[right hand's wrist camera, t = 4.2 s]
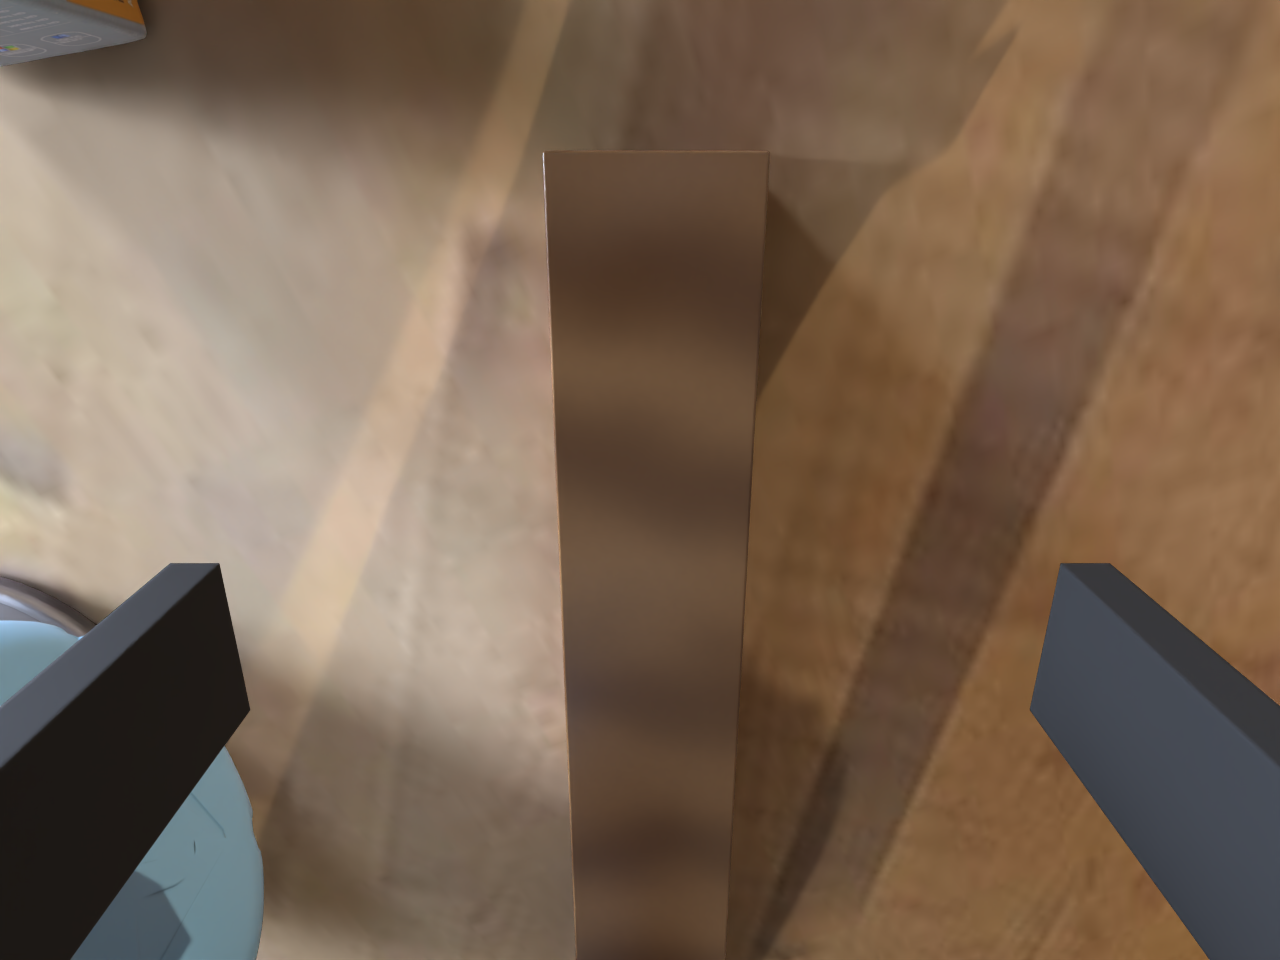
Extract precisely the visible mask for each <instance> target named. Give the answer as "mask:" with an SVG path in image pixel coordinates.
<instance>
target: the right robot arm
mask: <svg viewBox="0 0 1280 960" xmlns="http://www.w3.org/2000/svg"><path fill="white" fill-rule="evenodd" d="M249 711H250V706H249V701H248V697H247V692H246V687H245V683H244V678H243V673H242V668H241V664H240V659H239V654H238V649H237V645H236V640H235V635H234V630H233V626H232V621H231V616H230V612H229V607H228V602H227V597H226V593H225V588H224V583H223V578H222V574H221V569H220V564H219V563H170V564H169V565H168V566H167V567H165V568H164V569H163V570H162V571H161V572H159V573H158V574H157V575H156V576H155V577H153V578H152V579H151V580H150V581H149V582H147V583H146V584H145V585H144V586H143V587H142V588H140V589H139V590H138V591H137V592H136V593H134V594H133V595H132V596H131V597H130V598H128V599H127V600H126V601H125V602H124V603H122V604H121V605H120V606H119V607H118V608H116V609H115V610H114V611H113V612H112V613H111V614H109V615H108V616H107V617H106V618H105V619H103V620H102V621H101V622H100V623H99V624H97V625H96V626H95V627H94V628H93V629H91V630H90V631H89V632H88V633H87V634H86V635H84V636H83V637H82V638H81V639H80V640H78V641H77V642H76V643H75V644H74V645H72V646H71V647H70V648H69V649H68V650H66V651H65V652H64V653H63V654H62V655H61V656H59V657H58V658H57V659H56V660H55V661H53V662H52V663H51V664H50V665H49V666H47V667H46V668H45V669H44V670H43V671H41V672H40V673H39V674H38V675H37V676H36V677H34V678H33V679H32V680H31V681H30V682H28V683H27V684H26V685H25V686H24V687H22V688H21V689H20V690H19V691H18V692H16V693H15V694H14V695H13V696H12V697H11V698H9V699H8V700H7V701H6V702H5V703H3V704H2V705H1V706H0V960H71V958H72V957H73V955H74V954H75V953H76V951H77V950H78V948H79V947H80V946H81V944H82V943H83V941H84V940H85V939H86V937H87V936H88V935H89V933H90V932H91V930H92V929H93V928H94V926H95V925H96V923H97V922H98V921H99V919H100V918H101V916H102V915H103V914H104V912H105V911H106V910H107V908H108V907H109V905H110V904H111V903H112V901H113V900H114V898H115V897H116V896H117V894H118V893H119V891H120V890H121V889H122V887H123V886H124V885H125V883H126V882H127V880H128V879H129V878H130V876H131V875H132V873H133V872H134V871H135V869H136V868H137V866H138V865H139V864H140V862H141V861H142V860H143V858H144V857H145V855H146V854H147V853H148V851H149V850H150V848H151V847H152V846H153V844H154V843H155V842H156V840H157V839H158V837H159V836H160V835H161V833H162V832H163V830H164V829H165V828H166V826H167V825H168V823H169V822H170V821H171V819H172V818H173V817H174V815H175V814H176V812H177V811H178V810H179V808H180V807H181V805H182V804H183V803H184V801H185V800H186V798H187V797H188V796H189V794H190V793H191V792H192V790H193V789H194V787H195V786H196V785H197V783H198V782H199V780H200V779H201V778H202V776H203V775H204V773H205V772H206V771H207V769H208V768H209V767H210V765H211V764H212V762H213V761H214V760H215V758H216V757H217V755H218V754H219V753H220V751H221V750H222V748H223V747H224V746H225V744H226V743H227V742H228V740H229V739H230V737H231V736H232V735H233V733H234V732H235V730H236V729H237V728H238V726H239V725H240V723H241V722H242V721H243V719H244V718H245V717H246V715H247V714H248V712H249ZM1030 711H1031V712H1032V714H1033V715H1034V717H1035V718H1036V719H1037V721H1038V722H1039V724H1040V725H1041V726H1042V728H1043V729H1044V730H1045V732H1046V733H1047V735H1048V736H1049V737H1050V739H1051V740H1052V742H1053V743H1054V744H1055V746H1056V747H1057V748H1058V750H1059V751H1060V753H1061V754H1062V755H1063V757H1064V758H1065V760H1066V761H1067V762H1068V764H1069V765H1070V767H1071V768H1072V769H1073V771H1074V772H1075V773H1076V775H1077V776H1078V778H1079V779H1080V780H1081V782H1082V783H1083V785H1084V786H1085V787H1086V789H1087V790H1088V792H1089V793H1090V794H1091V796H1092V797H1093V798H1094V800H1095V801H1096V803H1097V804H1098V805H1099V807H1100V808H1101V810H1102V811H1103V812H1104V814H1105V815H1106V817H1107V818H1108V819H1109V821H1110V822H1111V823H1112V825H1113V826H1114V828H1115V829H1116V830H1117V832H1118V833H1119V835H1120V836H1121V837H1122V839H1123V840H1124V842H1125V843H1126V844H1127V846H1128V847H1129V848H1130V850H1131V851H1132V853H1133V854H1134V855H1135V857H1136V858H1137V860H1138V861H1139V862H1140V864H1141V865H1142V866H1143V868H1144V869H1145V871H1146V872H1147V873H1148V875H1149V876H1150V878H1151V879H1152V880H1153V882H1154V883H1155V885H1156V886H1157V887H1158V889H1159V890H1160V891H1161V893H1162V894H1163V896H1164V897H1165V898H1166V900H1167V901H1168V903H1169V904H1170V905H1171V907H1172V908H1173V910H1174V911H1175V912H1176V914H1177V915H1178V916H1179V918H1180V919H1181V921H1182V922H1183V923H1184V925H1185V926H1186V928H1187V929H1188V930H1189V932H1190V933H1191V935H1192V936H1193V937H1194V939H1195V940H1196V941H1197V943H1198V944H1199V946H1200V947H1201V948H1202V950H1203V951H1204V953H1205V954H1206V955H1207V957H1208V958H1209V960H1280V706H1279V705H1278V704H1277V703H1275V702H1274V701H1273V700H1272V699H1271V698H1269V697H1268V696H1267V695H1266V694H1265V693H1264V692H1262V691H1261V690H1260V689H1259V688H1258V687H1256V686H1255V685H1254V684H1253V683H1252V682H1250V681H1249V680H1248V679H1247V678H1246V677H1244V676H1243V675H1242V674H1241V673H1240V672H1239V671H1237V670H1236V669H1235V668H1234V667H1233V666H1231V665H1230V664H1229V663H1228V662H1227V661H1225V660H1224V659H1223V658H1222V657H1221V656H1219V655H1218V654H1217V653H1216V652H1215V651H1214V650H1212V649H1211V648H1210V647H1209V646H1208V645H1206V644H1205V643H1204V642H1203V641H1202V640H1200V639H1199V638H1198V637H1197V636H1196V635H1194V634H1193V633H1192V632H1191V631H1190V630H1189V629H1187V628H1186V627H1185V626H1184V625H1183V624H1181V623H1180V622H1179V621H1178V620H1177V619H1175V618H1174V617H1173V616H1172V615H1171V614H1169V613H1168V612H1167V611H1166V610H1165V609H1164V608H1162V607H1161V606H1160V605H1159V604H1158V603H1156V602H1155V601H1154V600H1153V599H1152V598H1150V597H1149V596H1148V595H1147V594H1146V593H1144V592H1143V591H1142V590H1141V589H1140V588H1138V587H1137V586H1136V585H1135V584H1134V583H1133V582H1131V581H1130V580H1129V579H1128V578H1127V577H1125V576H1124V575H1123V574H1122V573H1121V572H1119V571H1118V570H1117V569H1116V568H1115V567H1113V566H1112V565H1111V564H1110V563H1061V564H1060V569H1059V574H1058V578H1057V583H1056V588H1055V593H1054V597H1053V602H1052V607H1051V612H1050V616H1049V621H1048V626H1047V630H1046V635H1045V640H1044V645H1043V649H1042V654H1041V659H1040V664H1039V668H1038V673H1037V678H1036V683H1035V687H1034V692H1033V697H1032V701H1031V706H1030Z"/></svg>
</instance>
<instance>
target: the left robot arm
mask: <svg viewBox="0 0 1280 960" xmlns="http://www.w3.org/2000/svg"><path fill="white" fill-rule="evenodd" d="M95 626H96V625H95V624H94V623H93V622H91V621H90V620H89V619H87V618H86V617H85V616H83V615H82V614H80V613H79V612H77V611H76V610H74V609H73V608H71V607H69V606H68V605H66V604H64V603H63V602H61V601H59V600H58V599H56V598H54V597H52V596H50V595H48V594H46V593H44V592H42V591H39V590H37V589H34V588H32V587H30V586H27V585H25V584H22V583H19V582H16V581H13V580H10V579H7V578H4V577H0V706H1V705H2V704H3V703H5V702H6V701H7V700H8V699H9V698H11V697H12V696H13V695H14V694H15V693H16V692H18V691H19V690H20V689H21V688H22V687H24V686H25V685H26V684H27V683H28V682H30V681H31V680H32V679H33V678H34V677H36V676H37V675H38V674H39V673H40V672H41V671H43V670H44V669H45V668H46V667H47V666H49V665H50V664H51V663H52V662H53V661H55V660H56V659H57V658H58V657H59V656H61V655H62V654H63V653H64V652H65V651H66V650H68V649H69V648H70V647H71V646H72V645H74V644H75V643H76V642H77V641H78V640H80V639H81V638H82V637H83V636H84V635H86V634H87V633H88V632H89V631H90V630H91V629H93V628H94V627H95ZM252 817H253V810H252V807H251V804H250V801H249V798H248V795H247V792H246V790H245V787H244V784H243V782H242V780H241V778H240V775H239V773H238V771H237V769H236V767H235V765H234V763H233V761H232V759H231V756H230V755H229V753H228V751H227V749H226V747H225V746H224V747H223V748H222V750H221V751H220V753H219V754H218V755H217V757H216V758H215V760H214V761H213V762H212V764H211V765H210V767H209V768H208V769H207V771H206V772H205V773H204V775H203V776H202V778H201V779H200V780H199V782H198V783H197V785H196V786H195V787H194V789H193V790H192V792H191V793H190V794H189V796H188V797H187V798H186V800H185V801H184V803H183V804H182V805H181V807H180V808H179V810H178V811H177V812H176V814H175V815H174V817H173V818H172V819H171V821H170V822H169V823H168V825H167V826H166V828H165V829H164V830H163V832H162V833H161V835H160V836H159V837H158V839H157V840H156V842H155V843H154V844H153V846H152V847H151V848H150V850H149V851H148V853H147V854H146V855H145V857H144V858H143V860H142V861H141V862H140V864H139V865H138V866H137V868H136V869H135V871H134V872H133V873H132V875H131V876H130V878H129V879H128V880H127V882H126V883H125V885H124V886H123V887H122V889H121V890H120V891H119V893H118V894H117V896H116V897H115V898H114V900H113V901H112V903H111V904H110V905H109V907H108V908H107V910H106V911H105V912H104V914H103V915H102V916H101V918H100V919H99V921H98V922H97V923H96V925H95V926H94V928H93V929H92V930H91V932H90V933H89V935H88V936H87V937H86V939H85V940H84V941H83V943H82V944H81V946H80V947H79V948H78V950H77V951H76V953H75V954H74V955H73V957H72V958H71V960H256V957H257V953H258V948H259V942H260V936H261V930H262V922H263V910H264V876H263V862H262V855H261V851H260V850H259V848H258V845H257V842H256V839H255V836H254V833H253V825H252Z"/></svg>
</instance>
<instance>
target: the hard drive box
mask: <svg viewBox="0 0 1280 960" xmlns="http://www.w3.org/2000/svg"><path fill="white" fill-rule="evenodd" d="M146 35H147V31H146V28H145V24H144V20H143V17H142V14H141V11H140V9H139V6H138V3H137V0H0V67H1V66H6V65H12V64H18V63H24V62H29V61H34V60H39V59H44V58H49V57H54V56H60V55H66V54H72V53H78V52H83V51H88V50H93V49H98V48H104V47H109V46H114V45H119V44H124V43H129V42H133V41H137V40H141V39H145V37H146Z"/></svg>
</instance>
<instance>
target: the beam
mask: <svg viewBox="0 0 1280 960" xmlns="http://www.w3.org/2000/svg"><path fill="white" fill-rule="evenodd" d="M542 157H543V181H544V205H545V229H546V253H547V277H548V301H549V325H550V349H551V373H552V397H553V421H554V445H555V469H556V493H557V517H558V541H559V565H560V589H561V613H562V637H563V662H564V686H565V710H566V734H567V758H568V782H569V806H570V830H571V854H572V878H573V902H574V926H575V950H576V960H725V956H726V938H727V920H728V901H729V883H730V865H731V847H732V829H733V811H734V793H735V775H736V757H737V739H738V720H739V702H740V684H741V666H742V648H743V630H744V612H745V594H746V576H747V558H748V539H749V521H750V503H751V485H752V467H753V449H754V431H755V413H756V395H757V377H758V358H759V340H760V322H761V304H762V286H763V268H764V250H765V232H766V214H767V195H768V177H769V159H770V153H769V151H543V154H542Z"/></svg>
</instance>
